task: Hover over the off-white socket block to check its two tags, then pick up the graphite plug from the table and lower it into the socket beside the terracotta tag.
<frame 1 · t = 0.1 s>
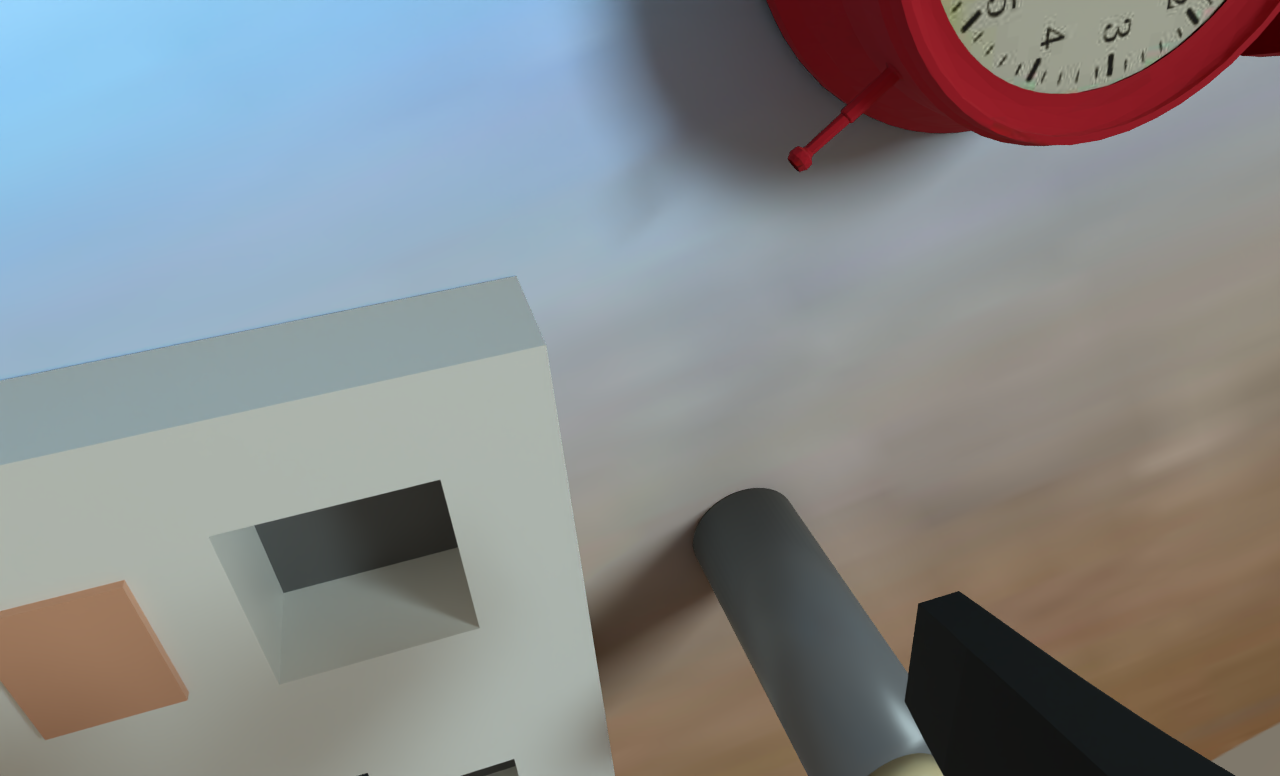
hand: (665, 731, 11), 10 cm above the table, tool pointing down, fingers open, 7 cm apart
plug: (743, 531, 24), on the table
socket block: (337, 644, 22), on the table
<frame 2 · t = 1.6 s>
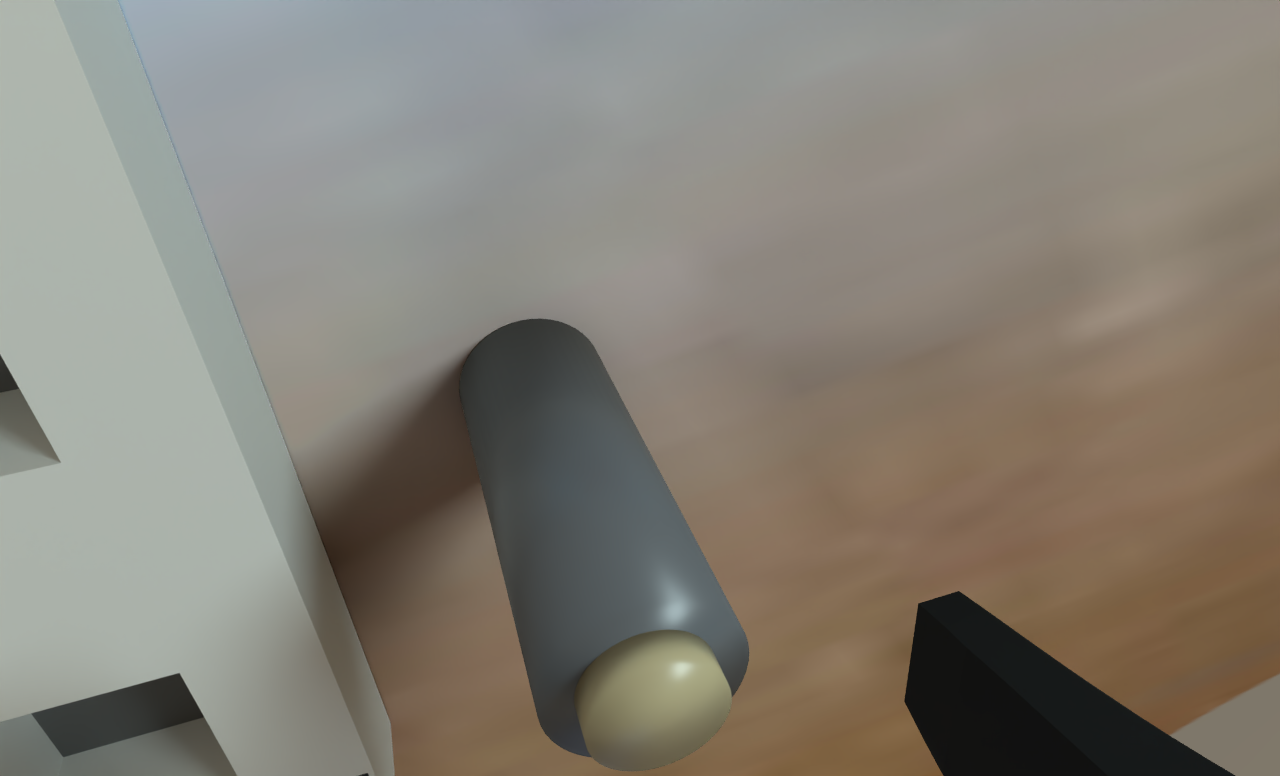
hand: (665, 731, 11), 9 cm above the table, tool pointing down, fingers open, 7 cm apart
plug: (532, 383, 18), on the table
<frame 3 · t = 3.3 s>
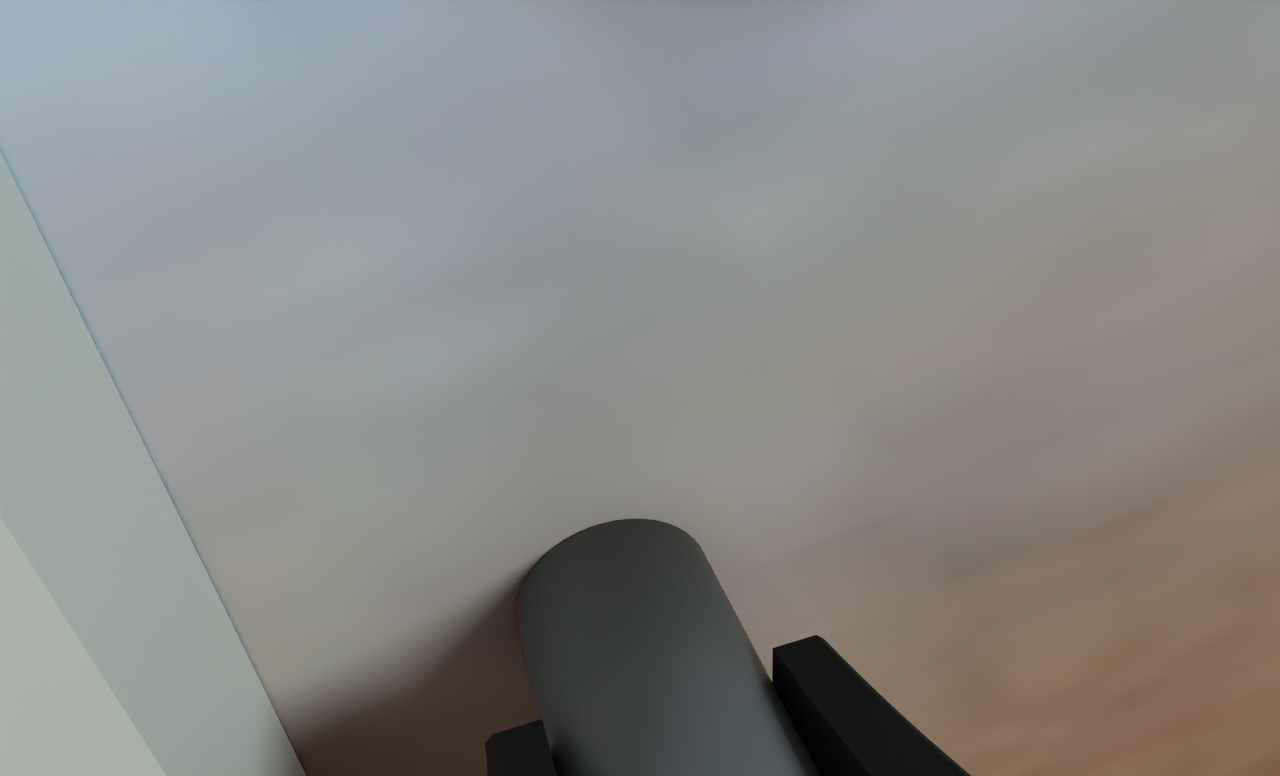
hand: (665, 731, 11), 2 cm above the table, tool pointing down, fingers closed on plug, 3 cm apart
plug: (614, 597, 13), on the table, touching gripper
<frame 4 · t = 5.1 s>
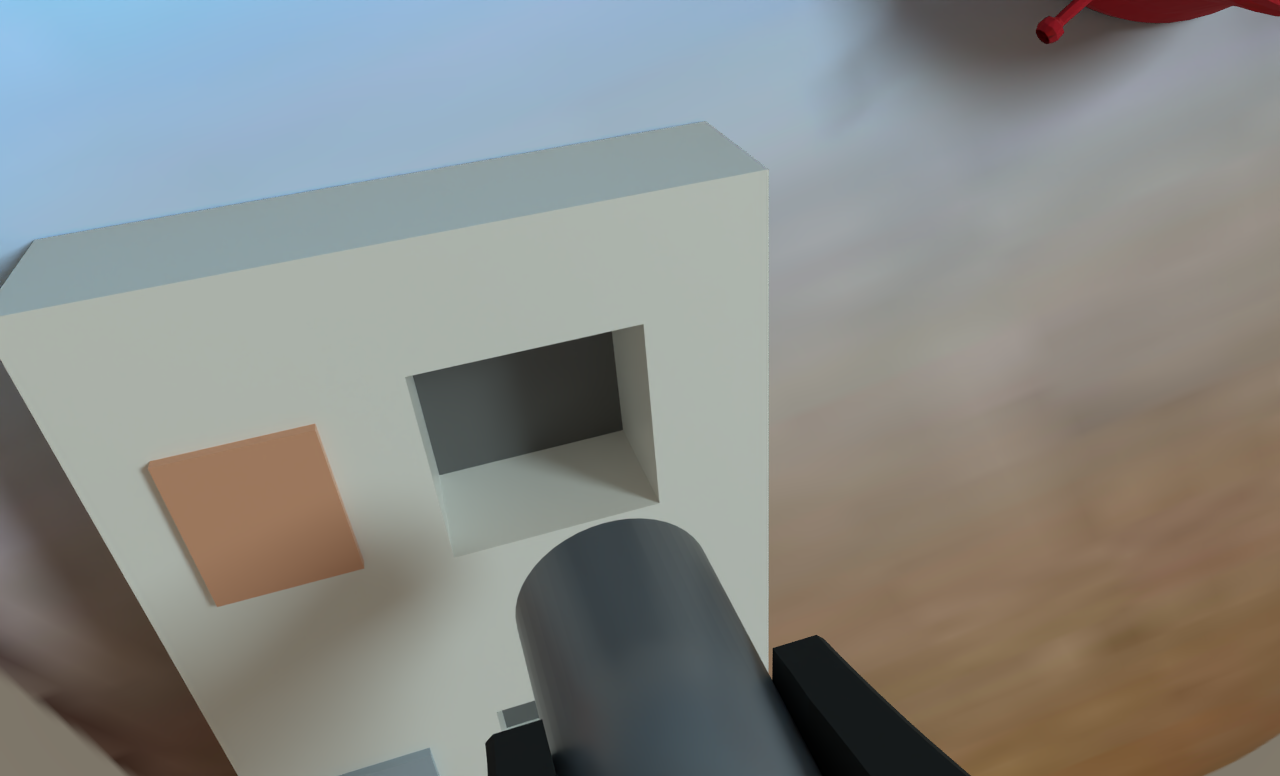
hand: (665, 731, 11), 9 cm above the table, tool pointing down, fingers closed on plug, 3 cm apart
plug: (614, 597, 13), point 7 cm above the table, touching gripper
socket block: (483, 539, 21), on the table
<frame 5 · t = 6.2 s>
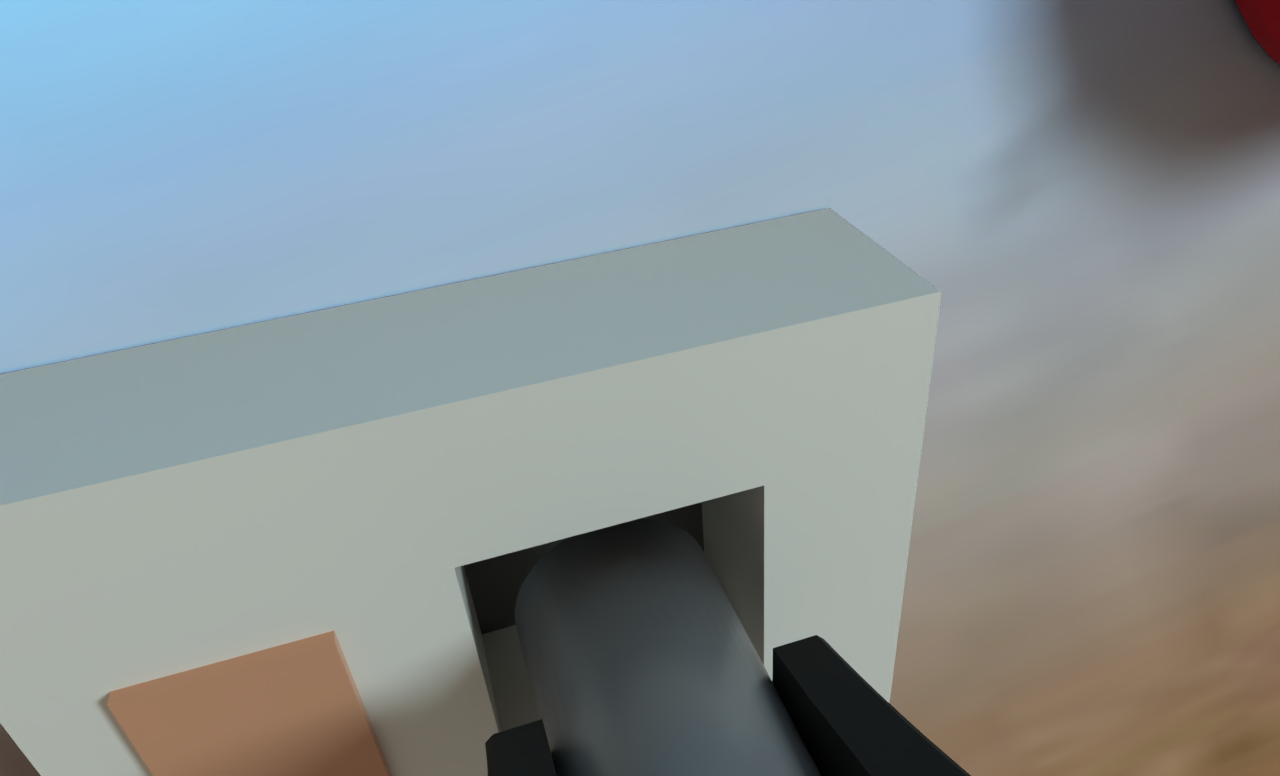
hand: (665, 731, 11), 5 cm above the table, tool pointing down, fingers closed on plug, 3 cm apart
plug: (614, 597, 13), point 2 cm above the table, touching gripper
socket block: (531, 697, 17), on the table
when the fingers open (4 cm above the table, at t = 7.2 s): plug drops 1 cm, resting on socket block.
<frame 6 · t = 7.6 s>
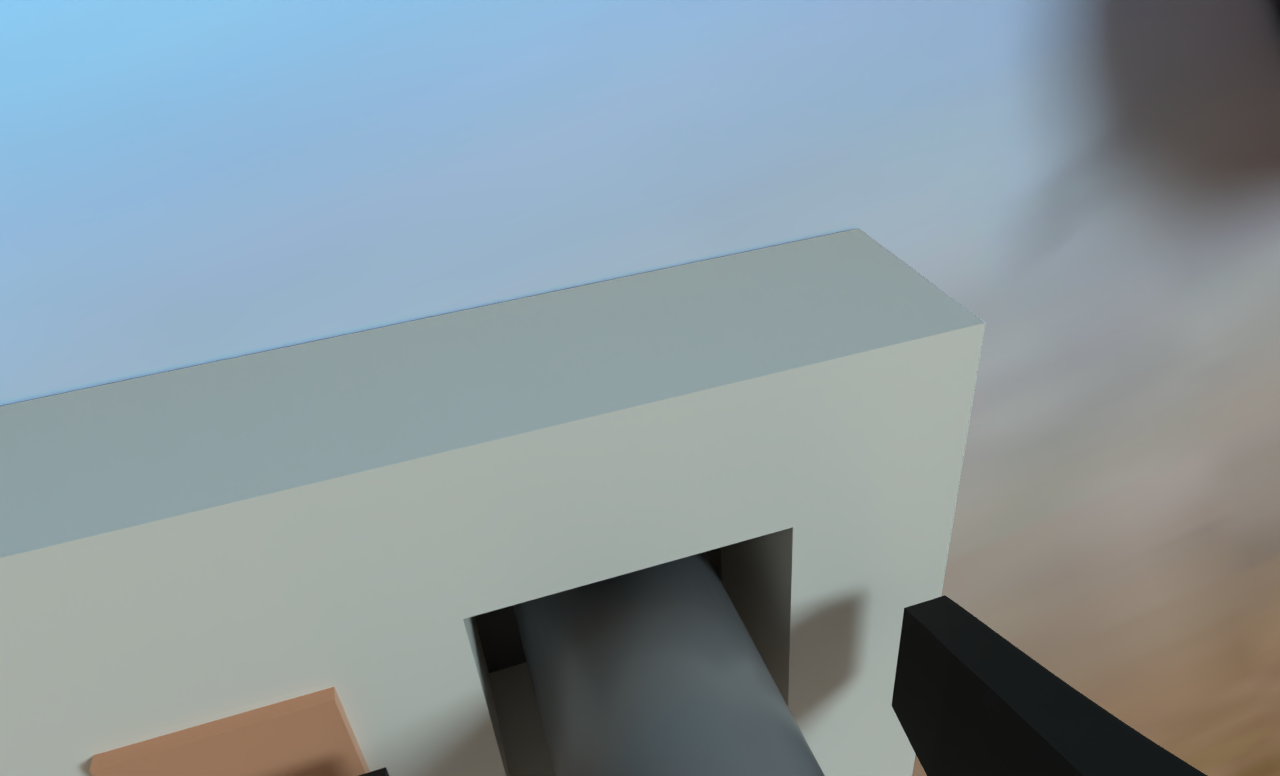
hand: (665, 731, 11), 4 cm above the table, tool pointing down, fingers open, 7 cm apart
plug: (597, 548, 14), resting on socket block
socket block: (540, 734, 17), on the table
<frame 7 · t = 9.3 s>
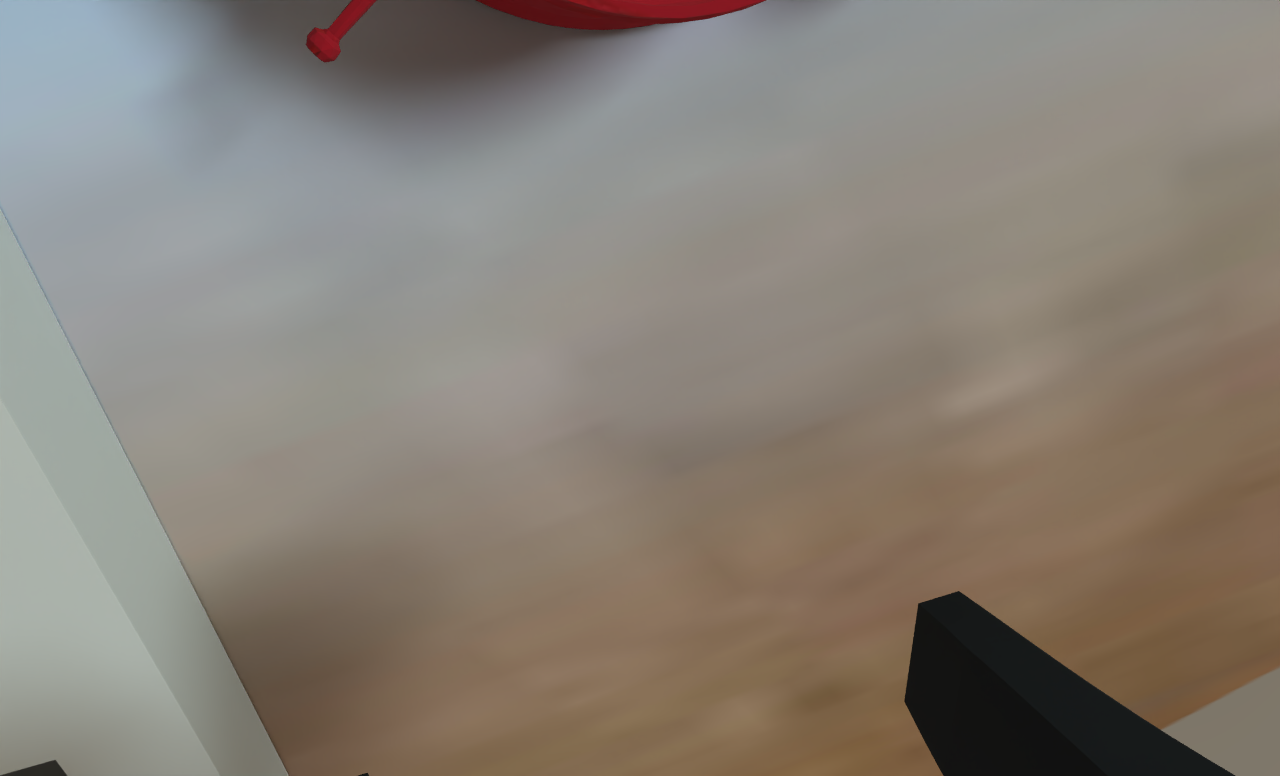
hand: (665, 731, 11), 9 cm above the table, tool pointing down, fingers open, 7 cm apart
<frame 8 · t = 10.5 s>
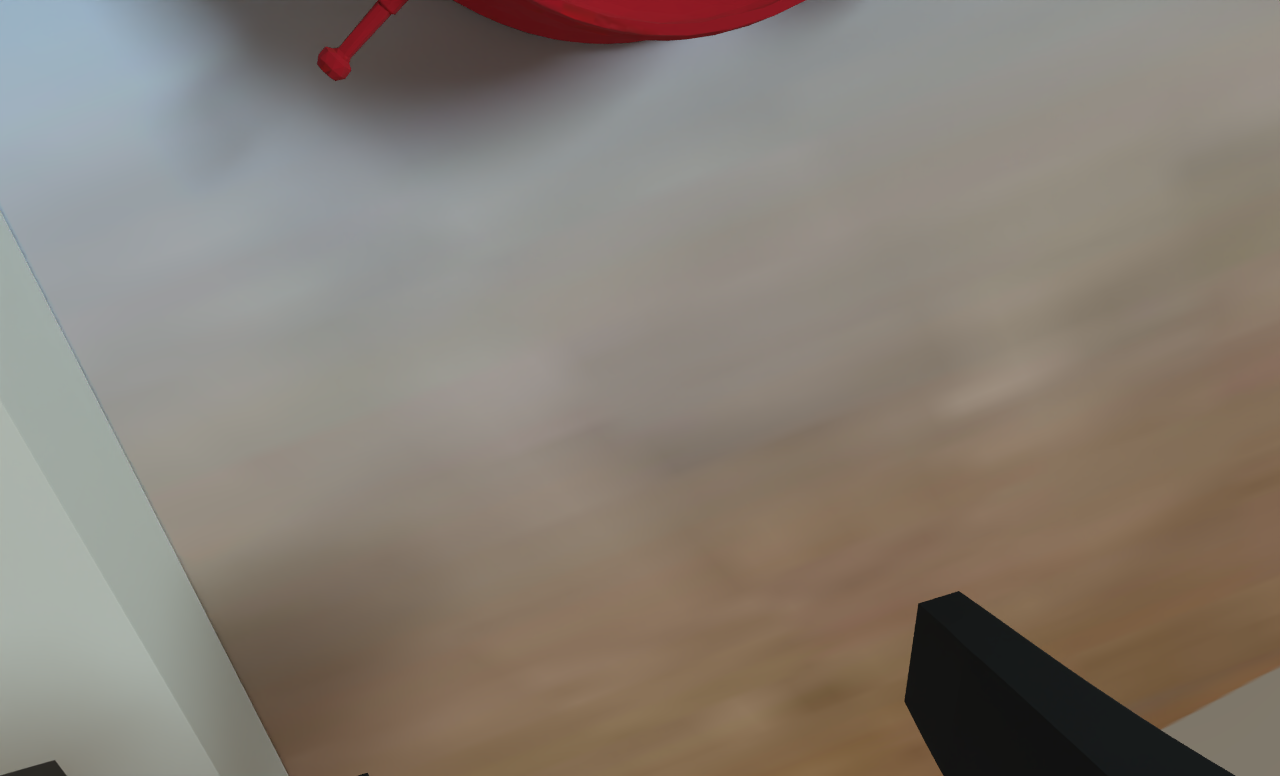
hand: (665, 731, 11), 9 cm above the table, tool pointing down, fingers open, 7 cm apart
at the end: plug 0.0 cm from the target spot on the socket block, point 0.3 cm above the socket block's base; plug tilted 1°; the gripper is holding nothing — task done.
